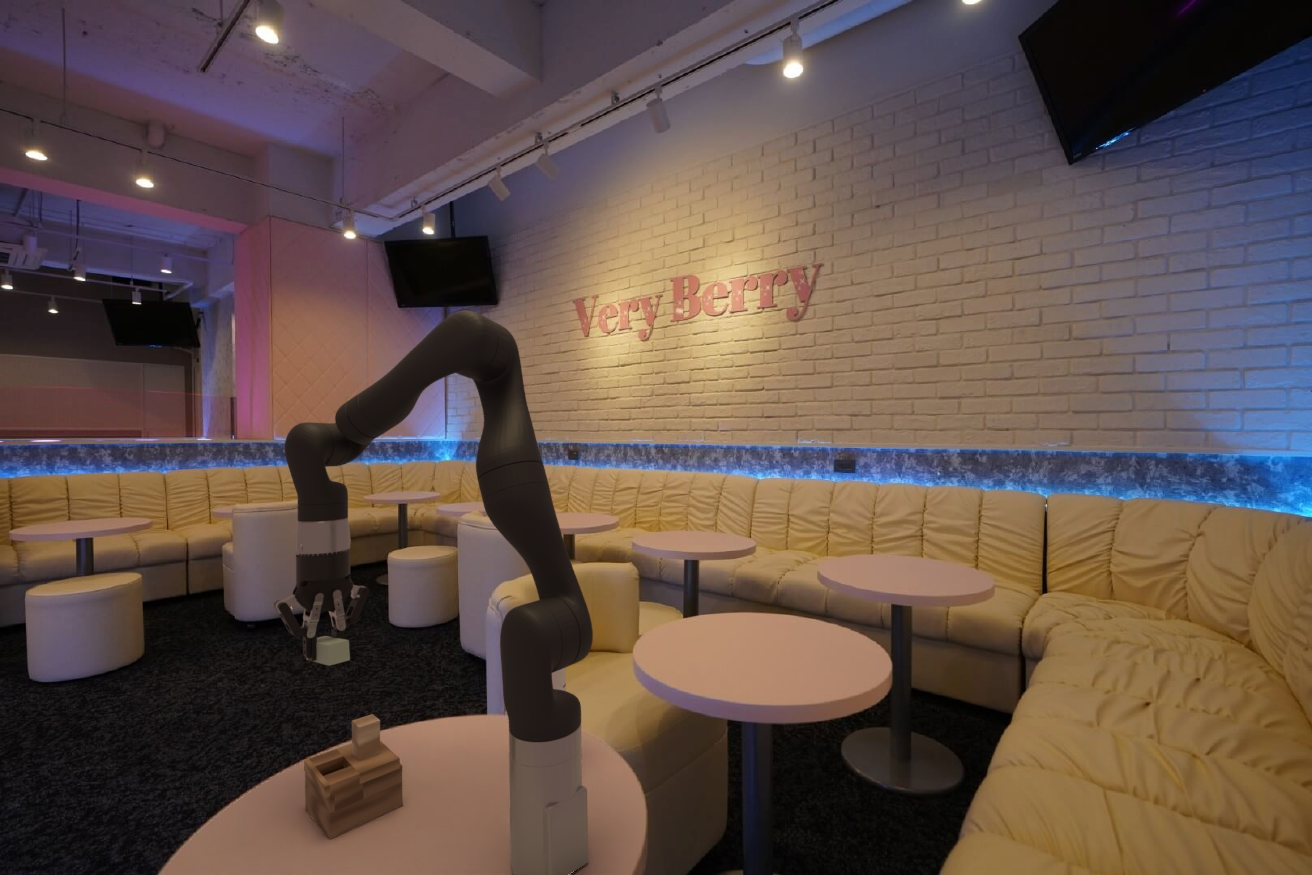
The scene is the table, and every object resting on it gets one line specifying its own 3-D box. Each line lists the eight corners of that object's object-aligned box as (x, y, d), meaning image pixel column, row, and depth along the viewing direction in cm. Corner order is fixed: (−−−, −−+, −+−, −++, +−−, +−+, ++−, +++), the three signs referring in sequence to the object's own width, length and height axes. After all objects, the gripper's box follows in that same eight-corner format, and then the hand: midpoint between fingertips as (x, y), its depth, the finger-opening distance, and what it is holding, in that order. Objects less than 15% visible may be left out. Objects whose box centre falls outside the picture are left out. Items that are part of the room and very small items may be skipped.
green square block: (350, 660, 89) (326, 654, 96) (348, 640, 90) (325, 635, 96) (328, 665, 87) (306, 659, 94) (327, 645, 87) (305, 640, 94)
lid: (399, 768, 86) (399, 724, 86) (325, 797, 79) (324, 749, 79) (374, 744, 93) (374, 704, 93) (304, 770, 86) (303, 726, 86)
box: (402, 805, 87) (402, 764, 87) (330, 839, 80) (329, 795, 80) (374, 780, 94) (374, 743, 94) (305, 809, 86) (305, 769, 87)
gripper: (360, 539, 100) (360, 640, 100) (265, 551, 90) (265, 663, 90) (378, 544, 95) (379, 650, 95) (280, 557, 85) (281, 676, 85)
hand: (324, 656), depth 92 cm, fingers closed on green square block, 3 cm apart
